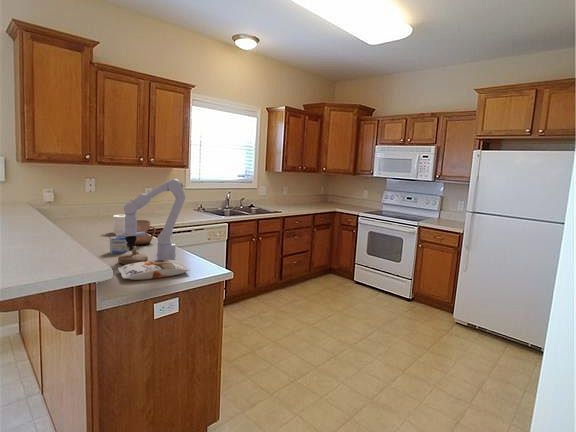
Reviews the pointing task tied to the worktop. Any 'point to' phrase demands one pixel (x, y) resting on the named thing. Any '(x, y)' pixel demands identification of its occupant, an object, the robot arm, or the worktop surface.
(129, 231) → the robot arm
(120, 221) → the toilet paper
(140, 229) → the ceramic jug
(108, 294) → the worktop surface
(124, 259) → the turntable
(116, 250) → the medicine box
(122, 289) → the worktop surface
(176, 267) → the dog food
